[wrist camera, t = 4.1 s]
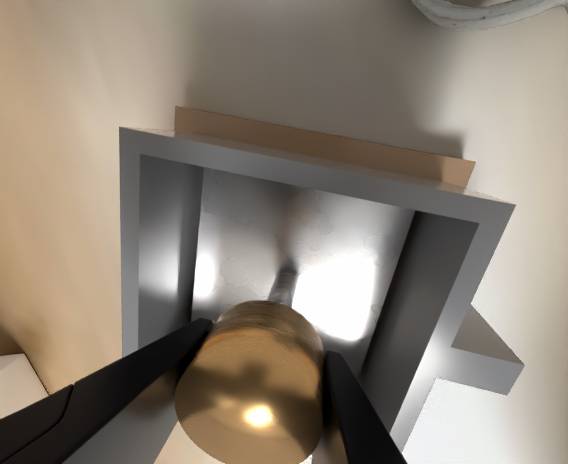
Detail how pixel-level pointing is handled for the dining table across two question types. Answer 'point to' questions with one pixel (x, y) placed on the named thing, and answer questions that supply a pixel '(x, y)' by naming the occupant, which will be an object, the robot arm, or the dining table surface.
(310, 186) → the grey square tray
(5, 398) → the milk
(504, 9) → the ceramic mug
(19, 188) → the dining table surface
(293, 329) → the plunger
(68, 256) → the dining table surface
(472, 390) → the dining table surface
